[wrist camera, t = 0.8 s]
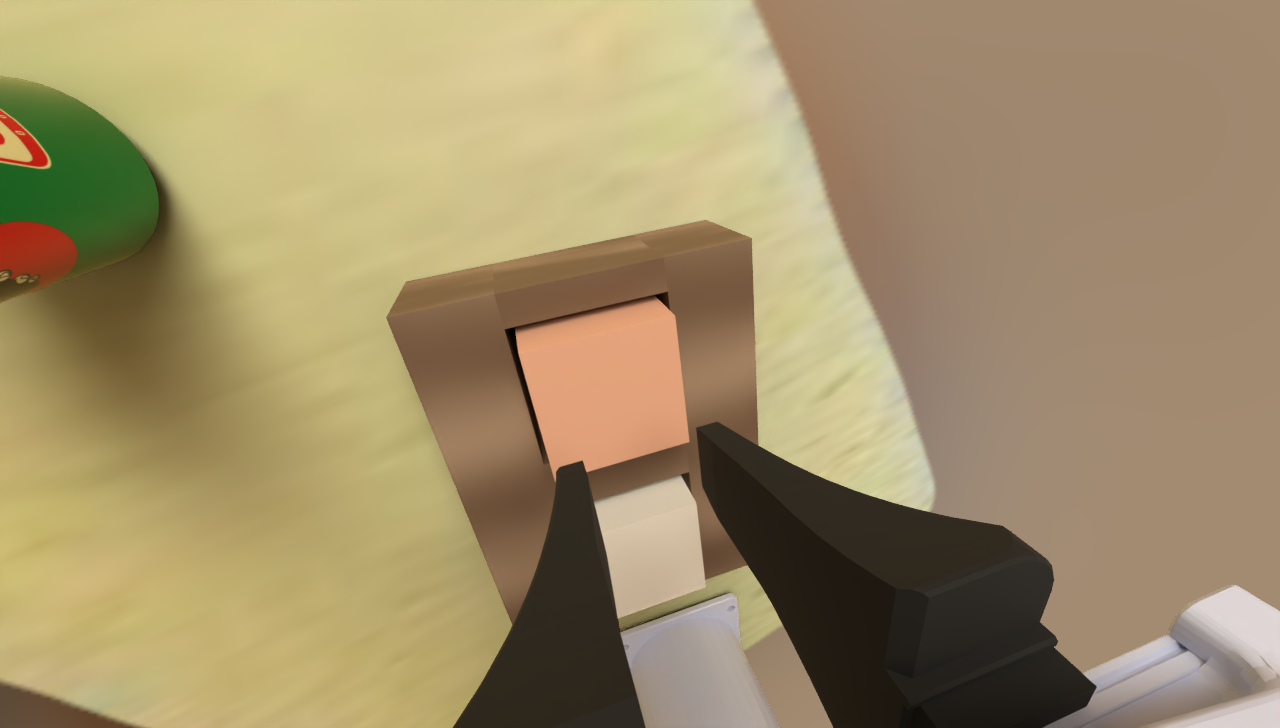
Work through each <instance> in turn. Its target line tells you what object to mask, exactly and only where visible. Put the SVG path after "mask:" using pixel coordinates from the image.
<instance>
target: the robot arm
mask: <svg viewBox="0 0 1280 728" xmlns="http://www.w3.org/2000/svg"><path fill="white" fill-rule="evenodd" d="M696 432H697V442H698V451H699V461H700V471H701V480H702V487H703V489H704V491H705V494H706V496H707V498H708V500H709V502H710V504H711V506H712V508H713V510H714V512H715V514H716V516H717V518H718V520H719V521H720V523H721V525H722V526H723V528H724V529H725V531H726V532H727V534H728V536H729V537H730V539H731V540H732V542H733V543H734V545H735V546H736V548H737V549H738V551H739V552H740V554H741V556H742V557H743V559H744V560H745V562H746V563H747V565H748V566H749V568H750V569H751V571H752V572H753V574H754V575H755V577H756V578H757V580H758V582H759V583H760V585H761V586H762V588H763V589H764V591H765V593H766V594H767V596H768V598H769V599H770V601H771V603H772V605H773V607H774V609H775V610H776V612H777V614H778V616H779V618H780V620H781V622H782V624H783V626H784V628H785V630H786V631H787V633H788V635H789V637H790V639H791V641H792V643H793V645H794V647H795V649H796V651H797V653H798V655H799V657H800V659H801V661H802V663H803V665H804V667H805V669H806V671H807V673H808V675H809V677H810V679H811V681H812V683H813V686H814V688H815V689H816V692H817V694H818V696H819V698H820V700H821V702H822V704H823V706H824V709H825V711H826V713H827V715H828V717H829V719H830V721H831V723H832V725H833V728H1280V611H1278V610H1276V609H1275V608H1273V607H1271V606H1270V605H1268V604H1266V603H1265V602H1263V601H1261V600H1260V599H1258V598H1256V597H1255V596H1253V595H1252V594H1250V593H1248V592H1246V591H1245V590H1243V589H1242V588H1240V587H1238V586H1237V585H1228V586H1225V587H1223V588H1221V589H1219V590H1217V591H1214V592H1212V593H1210V594H1208V595H1205V596H1203V597H1201V598H1199V599H1196V600H1194V601H1192V602H1191V603H1189V604H1188V605H1186V606H1185V607H1184V608H1182V610H1180V611H1179V612H1178V613H1177V615H1176V616H1175V617H1174V619H1173V621H1172V623H1171V625H1170V627H1169V633H1168V634H1166V635H1164V636H1162V637H1160V638H1157V639H1155V640H1153V641H1151V642H1149V643H1146V644H1144V645H1142V646H1140V647H1138V648H1136V649H1134V650H1131V651H1129V652H1127V653H1125V654H1122V655H1120V656H1118V657H1116V658H1114V659H1112V660H1109V661H1107V662H1105V663H1103V664H1101V665H1098V666H1096V667H1094V668H1092V669H1090V670H1088V671H1085V672H1083V673H1081V672H1080V671H1079V670H1078V669H1077V668H1076V667H1075V666H1074V665H1073V664H1071V663H1070V662H1069V661H1068V660H1067V659H1066V658H1065V657H1064V656H1063V655H1061V654H1060V653H1059V652H1058V651H1057V650H1056V649H1055V648H1054V646H1056V645H1057V642H1058V641H1057V639H1056V637H1055V635H1054V634H1052V633H1051V632H1050V631H1049V630H1048V629H1047V628H1046V627H1045V626H1043V625H1042V624H1041V623H1040V620H1041V617H1042V614H1043V612H1044V609H1045V607H1046V604H1047V601H1048V598H1049V596H1050V593H1051V591H1052V586H1053V582H1054V578H1053V569H1052V565H1051V564H1050V563H1049V561H1048V560H1047V559H1046V558H1045V557H1043V556H1042V555H1041V554H1039V553H1038V552H1037V551H1035V550H1034V549H1033V548H1032V547H1030V546H1029V545H1028V544H1026V543H1025V542H1024V541H1022V540H1021V539H1020V538H1018V537H1017V536H1016V535H1015V534H1013V533H1012V532H1011V531H1009V530H1008V529H1006V528H1005V527H1003V526H1000V525H994V524H988V523H982V522H977V521H971V520H965V519H959V518H953V517H948V516H943V515H939V514H935V513H931V512H926V511H922V510H918V509H914V508H910V507H906V506H902V505H899V504H895V503H892V502H888V501H885V500H882V499H879V498H875V497H872V496H869V495H866V494H863V493H860V492H857V491H854V490H852V489H849V488H846V487H844V486H841V485H839V484H836V483H834V482H831V481H828V480H826V479H824V478H821V477H819V476H817V475H814V474H812V473H810V472H808V471H806V470H804V469H802V468H800V467H798V466H795V465H793V464H791V463H789V462H787V461H785V460H784V459H782V458H780V457H778V456H776V455H774V454H772V453H770V452H769V451H767V450H765V449H763V448H761V447H760V446H758V445H756V444H754V443H753V442H751V441H749V440H748V439H746V438H744V437H743V436H741V435H739V434H738V433H736V432H734V431H733V430H731V429H729V428H728V427H726V426H724V425H723V424H721V423H719V422H714V423H710V424H707V425H703V426H700V427H696ZM453 728H781V727H780V725H779V723H778V721H777V719H776V717H775V715H774V713H773V711H772V709H771V707H770V705H769V702H768V700H767V699H766V697H765V694H764V692H763V690H762V688H761V686H760V684H759V682H758V680H757V678H756V676H755V674H754V672H753V670H752V668H751V666H750V664H749V662H748V660H747V658H746V656H745V654H744V652H743V650H742V648H741V641H740V626H739V612H738V600H737V598H736V596H735V594H733V593H728V594H725V595H722V596H720V597H717V598H714V599H711V600H708V601H706V602H703V603H700V604H697V605H695V606H692V607H689V608H686V609H683V610H681V611H678V612H675V613H672V614H670V615H667V616H664V617H661V618H658V619H656V620H653V621H650V622H647V623H645V624H642V625H639V626H636V627H633V628H631V629H628V630H625V631H622V632H620V628H619V622H618V616H617V611H616V605H615V599H614V593H613V587H612V581H611V576H610V570H609V564H608V558H607V553H606V549H605V545H604V541H603V537H602V533H601V529H600V524H599V520H598V516H597V512H596V508H595V504H594V500H593V496H592V492H591V487H590V483H589V479H588V476H587V472H586V469H585V466H584V463H583V460H582V461H579V462H575V463H572V464H568V465H565V466H561V467H559V468H558V470H557V471H556V489H555V497H554V503H553V509H552V513H551V518H550V523H549V527H548V531H547V535H546V539H545V542H544V545H543V549H542V552H541V556H540V559H539V562H538V565H537V568H536V571H535V574H534V577H533V579H532V582H531V584H530V587H529V589H528V592H527V595H526V597H525V599H524V602H523V604H522V606H521V608H520V610H519V613H518V615H517V617H516V619H515V622H514V624H513V626H512V628H511V630H510V632H509V634H508V636H507V638H506V640H505V642H504V644H503V645H502V647H501V649H500V651H499V653H498V654H497V656H496V658H495V660H494V662H493V664H492V665H491V667H490V669H489V671H488V673H487V674H486V676H485V678H484V680H483V681H482V683H481V685H480V686H479V688H478V689H477V691H476V693H475V694H474V696H473V697H472V699H471V700H470V702H469V703H468V705H467V707H466V708H465V710H464V711H463V713H462V714H461V716H460V717H459V719H458V720H457V722H456V724H455V725H454V727H453Z"/></svg>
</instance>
